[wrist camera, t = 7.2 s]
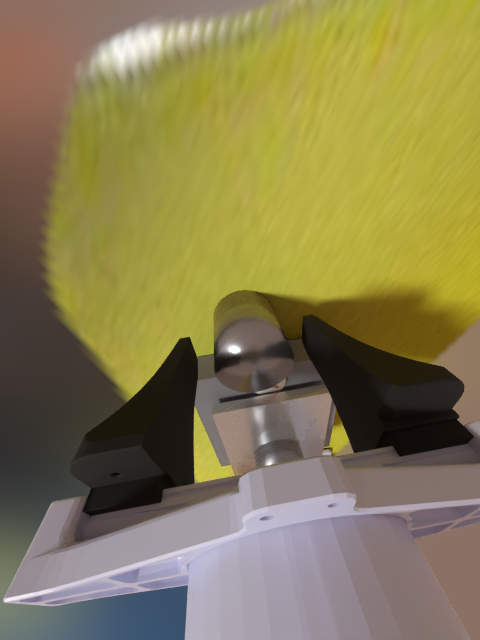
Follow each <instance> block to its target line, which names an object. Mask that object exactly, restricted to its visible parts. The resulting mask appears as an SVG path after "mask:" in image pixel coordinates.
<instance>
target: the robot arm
mask: <svg viewBox="0 0 480 640" xmlns="http://www.w3.org/2000/svg"><path fill="white" fill-rule="evenodd" d="M302 343H303V345H304V348H305V350H306V352H307V355H308V356H309V358H310V360H311V362H312V363H313V365H314V367H315V368H316V370H317V372H318V373H319V375H320V377H321V379H322V380H323V382H324V384H325V386H326V387H327V389H328V391H329V394H330V396H331V398H332V400H333V402H334V404H335V407H336V409H337V411H338V414H339V416H340V418H341V421H342V423H343V426H344V428H345V431H346V433H347V436H348V438H349V441H350V443H351V446H352V449H353V451H354V453H353V454H347V455H342V456H337V457H334V456H331V450H329V449H327V450H323V454H322V455H320V456H313V457H308V458H303V459H297V460H292V461H287V462H282V463H276V464H271V465H266V466H261V467H257V468H254V469H251V470H249V471H247V472H246V473H244V474H243V475H237V476H232V477H227V478H222V479H216V480H211V481H206V482H201V483H196V484H195V483H194V447H193V430H194V406H195V397H196V389H197V381H198V359H197V356H196V353H195V351H194V348H193V345H192V342H191V339H190V337H186V338H181V339H179V341H178V342H177V344H176V345H175V347H174V348H173V350H172V351H171V353H170V354H169V356H168V357H167V359H166V360H165V361H164V363H163V364H162V366H161V367H160V368H159V369H158V371H157V372H156V373H155V374H154V376H153V377H152V378H151V379H150V380H149V381H148V382H147V383H146V385H145V386H144V387H143V388H142V389H141V390H140V391H139V392H138V393H137V394H135V395H134V396H133V397H132V398H131V399H130V400H129V401H128V402H127V403H126V404H125V405H124V406H122V407H121V408H120V409H119V410H117V411H116V412H115V413H114V414H113V415H111V416H110V417H109V418H107V419H106V420H105V421H103V422H102V423H101V424H99V425H98V426H96V427H95V428H93V429H92V430H91V431H89V432H88V433H86V435H85V437H84V438H83V440H82V442H81V445H80V446H79V448H78V450H77V452H76V454H75V456H74V459H73V460H72V462H71V464H70V468H69V469H70V471H71V473H72V475H73V476H74V477H76V478H77V479H78V480H80V481H81V482H83V483H84V484H86V485H87V486H89V487H90V488H91V491H90V493H89V496H88V498H87V497H74V498H69V499H64V500H59V501H54V502H53V503H51V505H50V507H49V509H48V511H47V513H46V515H45V517H44V519H43V521H42V523H41V525H40V527H39V529H38V531H37V533H36V535H35V537H34V539H33V541H32V543H31V545H30V547H29V549H28V551H27V553H26V555H25V557H24V559H23V561H22V563H21V565H20V567H19V569H18V571H17V573H16V575H15V577H14V579H13V581H12V583H11V585H10V587H9V589H8V591H7V593H6V595H5V597H4V599H3V600H4V602H5V603H17V604H31V605H44V606H58V605H63V604H68V603H74V602H79V601H85V600H90V599H96V598H102V597H109V596H115V595H122V594H128V593H135V592H143V591H150V590H156V589H163V588H170V587H177V586H184V585H188V596H187V597H188V598H187V613H186V630H185V640H471V639H470V637H469V635H468V634H467V632H466V630H465V628H464V627H463V625H462V623H461V621H460V619H459V618H458V616H457V614H456V612H455V611H454V609H453V607H452V605H451V604H450V602H449V600H448V598H447V596H446V595H445V593H444V591H443V589H442V588H441V586H440V584H439V582H438V581H437V579H436V577H435V575H434V573H433V572H432V570H431V568H430V566H429V565H428V563H427V561H426V559H425V558H424V556H423V554H422V553H421V550H420V549H419V547H418V545H417V543H416V542H415V539H418V538H422V537H426V536H430V535H434V534H438V533H442V532H446V531H450V530H454V529H458V528H462V527H466V526H470V525H474V524H478V523H480V420H479V421H474V422H470V423H468V424H466V425H464V426H463V425H462V424H461V423H460V422H459V421H458V420H457V419H458V418H459V415H458V414H457V413H456V412H455V411H454V410H453V409H452V408H453V407H454V405H455V404H456V402H457V401H458V400H459V399H460V397H461V396H462V394H463V392H464V384H463V382H462V381H461V380H459V379H458V378H457V377H456V376H454V375H453V374H452V373H451V372H449V371H448V370H447V369H446V368H444V367H441V366H437V365H432V364H428V363H423V362H419V361H415V360H411V359H408V358H404V357H401V356H397V355H394V354H391V353H388V352H385V351H382V350H379V349H377V348H374V347H372V346H369V345H367V344H365V343H362V342H360V341H358V340H356V339H354V338H352V337H350V336H348V335H346V334H344V333H342V332H340V331H339V330H337V329H335V328H333V327H332V326H330V325H328V324H327V323H325V322H324V321H322V320H320V319H319V318H317V317H315V316H314V315H308V316H303V326H302Z"/></svg>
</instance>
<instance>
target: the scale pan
mask: <svg viewBox="0 0 480 640" xmlns="http://www.w3.org/2000/svg"><path fill="white" fill-rule="evenodd" d="M331 402H332V398H331V396H330V394H329V391H328V389H327V387H326V386H325V384H322V385H316V386H311V387H306V388H300V389H295V390H289V391H284V392H279V393H273V394H268V395H262V396H257V397H251V398H246V399H241V400H235V401H230V402H224V403H219V404H214V405H212V416H213V418H214V421H215V424H216V426H217V429H218V432H219V434H220V437H221V439H222V442H223V445H224V447H225V450H226V453H227V455H228V458H229V461H230V463H231V466H232V469H233V471H234V474H235V476H236V475H241V474H244V473H246V472H247V471H249V470H251V469H254V468H256V466H255V459H254V453H255V451H256V450H257V449H258V448H259V447H260V446H262V445H263V444H265V443H268V442H271V441H275V440H281V439H289V440H294V441H296V442H298V443H299V444H300V447H301V450H302V453H303V456H304V458H308V457H313V456H320V455H322V454H323V448H324V442H325V437H326V431H327V425H328V420H329V414H330V408H331Z"/></svg>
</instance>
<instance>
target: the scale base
mask: <svg viewBox="0 0 480 640" xmlns="http://www.w3.org/2000/svg"><path fill="white" fill-rule="evenodd" d="M288 342H289V344H290V346H291V348H292V350H293V353H294V364H293V368H292V370H291V371H290V373H289V374H288V376H287V377H286V378H285V379H284V380H283V381H281V382H280V383H279V384H277V385H275V386H273V387H271V388H269V389H266V390H263V391H259V392H238V391H234V390H231V389H229V388H227V387H226V386H224V385H223V384H222V383H221V382H220V381H219V380H218V379H217V377H216V375H215V371H214V354H211V355H206V356H200V357H197V359H198V381H197V389H196V397H195V407H196V409H197V412H198V414H199V416H200V418H201V421H202V423H203V425H204V428H205V430H206V432H207V434H208V437H209V439H210V441H211V443H212V446H213V448H214V450H215V453H216V455H217V457H218V459H219V462H220V464H221V466H226V465H231V463H230V461H229V458H228V455H227V453H226V450H225V447H224V445H223V442H222V439H221V437H220V434H219V432H218V429H217V426H216V424H215V421H214V418H213V416H212V405H214V404H219V403H224V402H230V401H235V400H241V399H246V398H251V397H257V396H262V395H268V394H273V393H279V392H284V391H289V390H295V389H300V388H306V387H311V386H316V385H322V384H324V382H323V380H322V379H321V377H320V375H319V373H318V372H317V370H316V368H315V367H314V365H313V363H312V362H311V360H310V358H309V356H308V355H307V352H306V350H305V348H304V345H303V343H302V338H299V339H294V340H288ZM335 414H336V407H335V404H334V402H333V400H332V402H331V408H330V414H329V420H328V425H327V431H326V437H325V442H324V447H326V446H329V443H330V438H331V433H332V428H333V423H334V418H335Z"/></svg>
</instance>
